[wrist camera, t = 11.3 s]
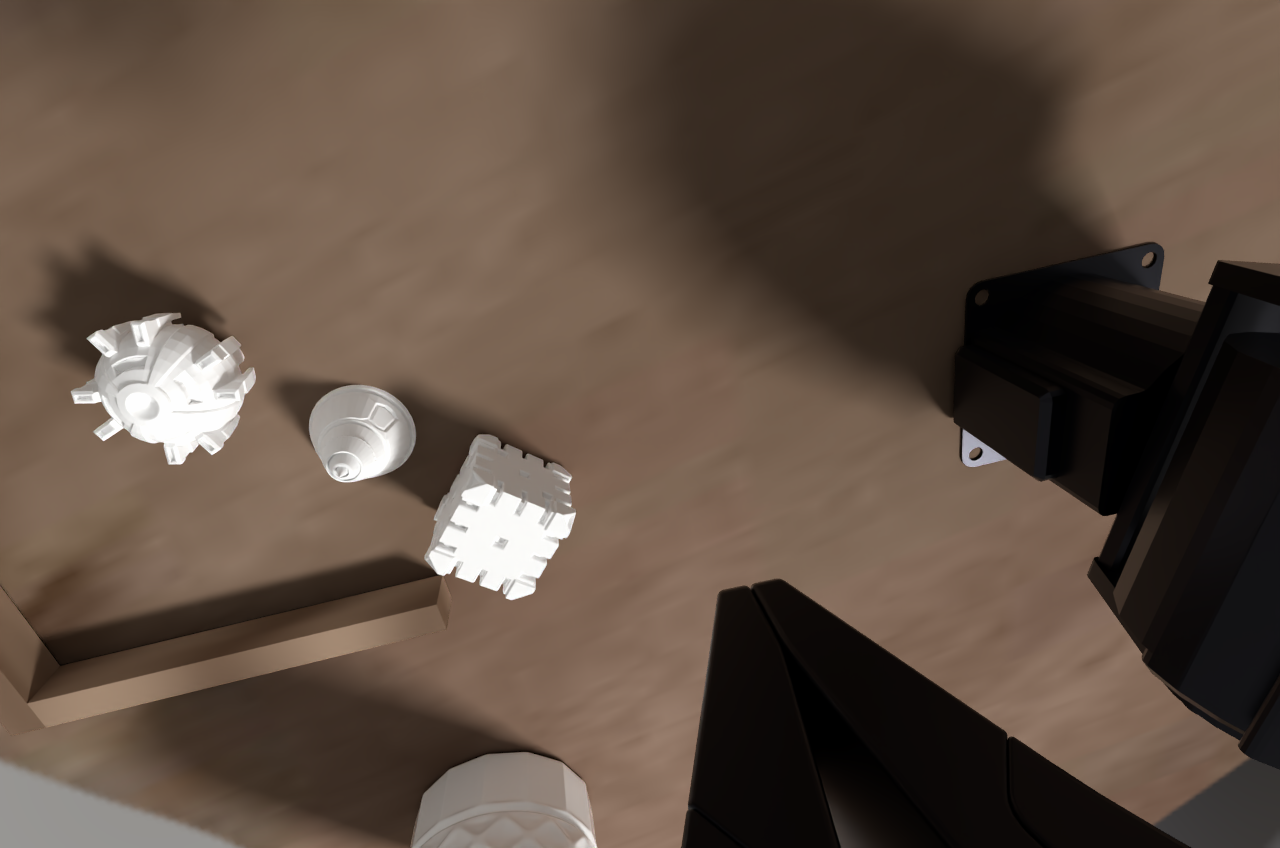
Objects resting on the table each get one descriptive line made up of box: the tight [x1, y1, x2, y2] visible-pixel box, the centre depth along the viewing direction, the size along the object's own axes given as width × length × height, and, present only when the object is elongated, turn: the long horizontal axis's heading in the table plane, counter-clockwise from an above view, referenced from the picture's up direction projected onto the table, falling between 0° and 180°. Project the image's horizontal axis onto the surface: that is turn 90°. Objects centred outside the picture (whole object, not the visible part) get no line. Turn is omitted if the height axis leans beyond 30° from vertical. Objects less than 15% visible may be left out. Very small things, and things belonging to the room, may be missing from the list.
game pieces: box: [71, 313, 576, 600], centre depth 18 cm, size 12×3×3 cm, turn 59°
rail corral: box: [0, 575, 452, 736], centre depth 16 cm, size 13×23×2 cm, turn 10°
